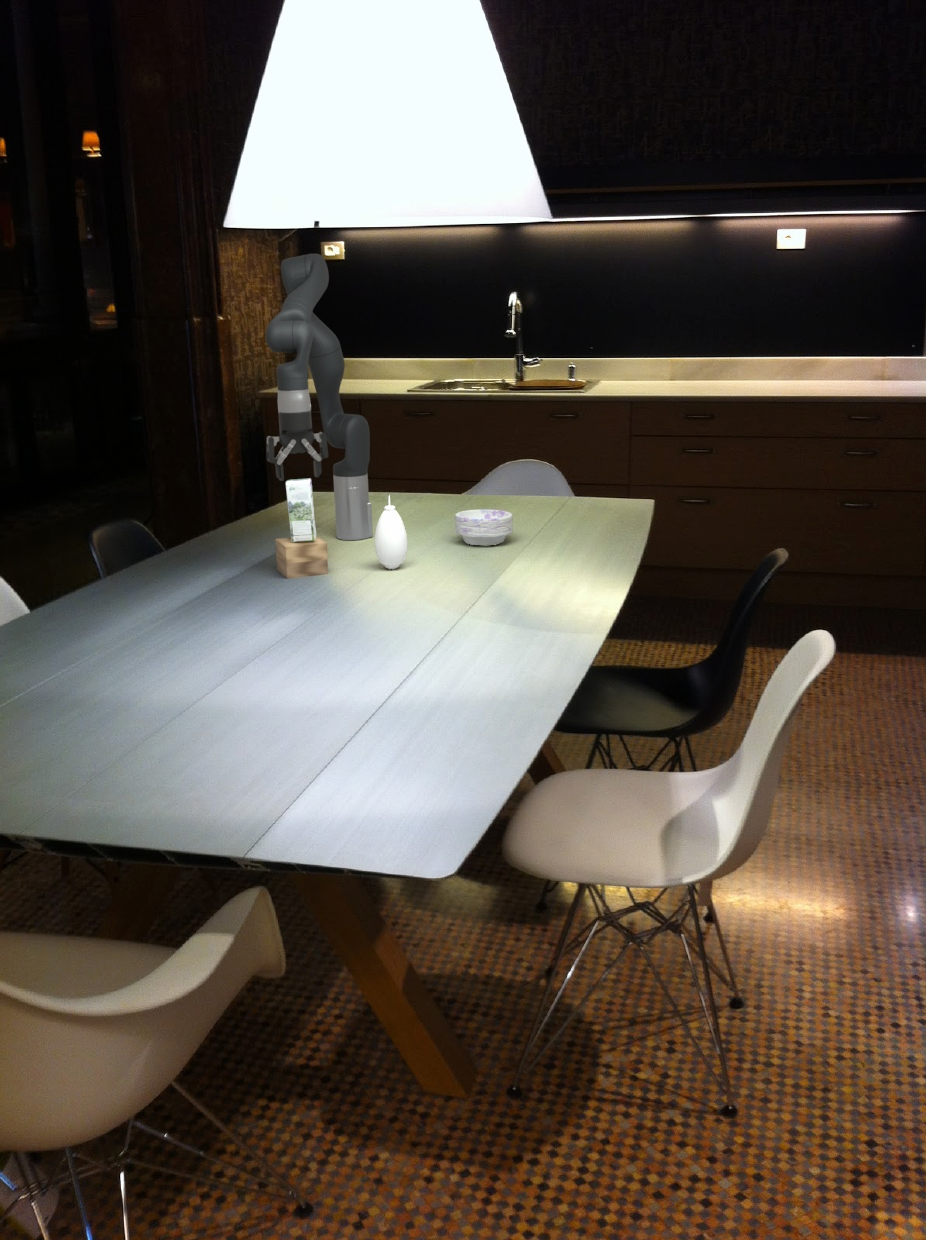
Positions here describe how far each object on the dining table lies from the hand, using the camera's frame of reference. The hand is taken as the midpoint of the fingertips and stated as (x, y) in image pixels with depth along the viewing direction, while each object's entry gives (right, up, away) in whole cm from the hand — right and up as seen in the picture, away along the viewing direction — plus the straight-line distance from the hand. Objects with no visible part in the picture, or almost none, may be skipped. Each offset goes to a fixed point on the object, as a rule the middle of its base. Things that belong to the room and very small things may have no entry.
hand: (299, 478), depth 274 cm
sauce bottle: (+22, -21, +7) cm, 31 cm away
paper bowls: (+44, -13, +33) cm, 57 cm away
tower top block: (0, -18, +5) cm, 19 cm away
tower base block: (0, -22, +6) cm, 23 cm away
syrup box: (+1, -14, +4) cm, 15 cm away
